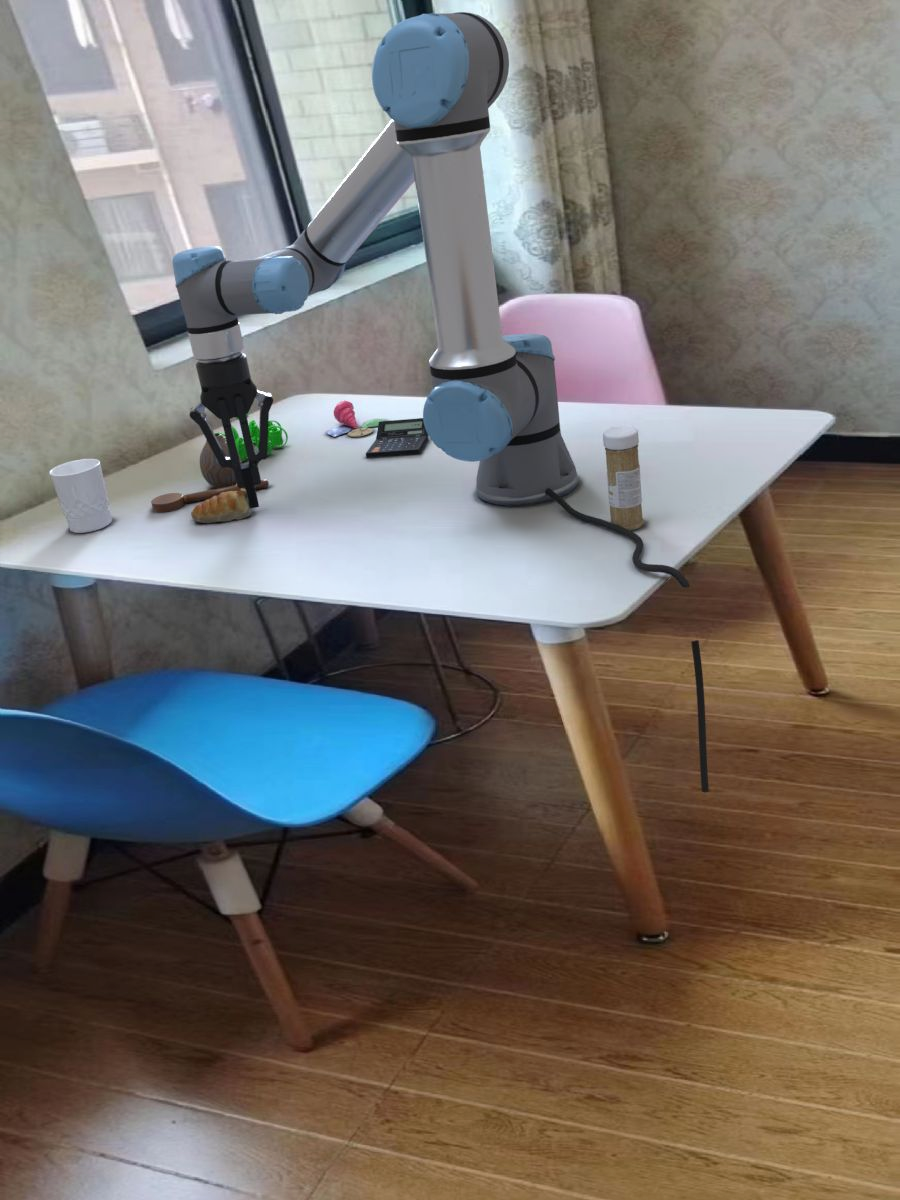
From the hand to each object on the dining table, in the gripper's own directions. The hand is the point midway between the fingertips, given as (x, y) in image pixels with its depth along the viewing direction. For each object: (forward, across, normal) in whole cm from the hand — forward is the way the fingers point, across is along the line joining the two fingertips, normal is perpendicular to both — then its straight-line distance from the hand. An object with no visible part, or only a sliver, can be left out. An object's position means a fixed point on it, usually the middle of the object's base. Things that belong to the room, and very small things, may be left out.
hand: (254, 504), depth 180 cm
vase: (+2, +4, -18) cm, 18 cm away
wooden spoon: (+1, +7, -12) cm, 14 cm away
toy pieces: (+2, -21, -37) cm, 42 cm away
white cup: (+1, +26, -10) cm, 28 cm away
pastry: (+2, +4, -1) cm, 5 cm away
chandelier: (+2, -1, -35) cm, 35 cm away
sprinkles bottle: (+2, -49, +35) cm, 60 cm away
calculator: (+2, -27, -21) cm, 34 cm away
